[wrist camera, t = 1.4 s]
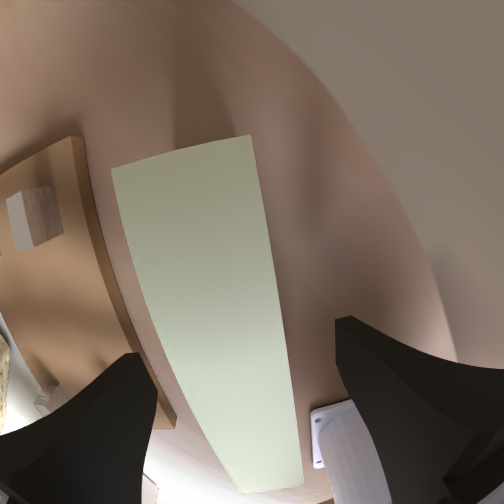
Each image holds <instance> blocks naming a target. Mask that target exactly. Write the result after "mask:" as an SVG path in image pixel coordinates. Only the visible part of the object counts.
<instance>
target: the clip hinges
mask: <svg viewBox="0 0 504 504" xmlns="http://www.w3.org/2000/svg"><path fill="white" fill-rule="evenodd" d="M6 204H7V209H8V214H9V219H10V224H11V228H12V232H13V236H14V240H15V244H16V247H17V251H18V253H19V252H22V251H25V250H28V249H31V248H34V247H36V246H38V245H40V244H42V243H45V242H47V241H49V240H51V239H53V238H55V237H58V236H60V235H62V234H64V230H63V226H62V222H61V218H60V214H59V209H58V205H57V200H56V195H55V190H54V186H47V187H41V188H35V189H29V190H23V191H20V192H18V193H16V194H14V195H13V196H11V197H9V198H7V199H6ZM0 256H2V254H1V251H0ZM69 400H70V398H69V396H68V395H67V393H66V392H65V390H64V389H63V387H62V386H61V384H60V383H56V382H49V383H48V384H47V385H46V387H45V388H44V390H43V391H42V393H41V394H40V395H39V397H38V398H37V400H36V401H35V403H34V405H35V406H36V407H37V409H38V410H39V411H40V413H41V414H42V415H43V416H44V417H45V416H47V415H48V414H50V413H52V412H53V411H55V410H56V409H58V408H59V407H61V406H62V405H63V404H65V403H66V402H68V401H69Z"/></svg>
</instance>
